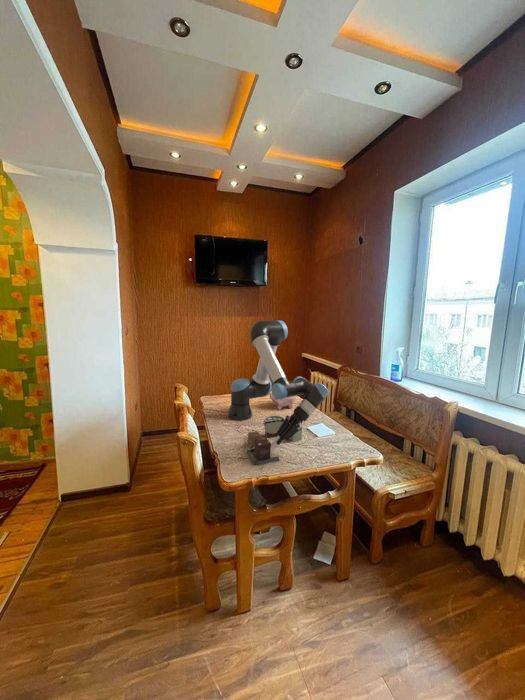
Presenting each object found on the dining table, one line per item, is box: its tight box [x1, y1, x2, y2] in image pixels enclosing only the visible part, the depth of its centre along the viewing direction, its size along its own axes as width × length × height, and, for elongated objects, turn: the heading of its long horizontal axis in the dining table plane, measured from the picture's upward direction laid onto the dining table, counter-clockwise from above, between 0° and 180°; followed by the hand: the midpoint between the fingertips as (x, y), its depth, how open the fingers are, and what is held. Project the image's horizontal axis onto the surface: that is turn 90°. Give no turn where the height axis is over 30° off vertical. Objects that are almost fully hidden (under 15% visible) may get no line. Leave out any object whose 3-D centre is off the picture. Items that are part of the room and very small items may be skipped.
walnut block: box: [247, 430, 262, 449], centre depth 140 cm, size 5×5×6 cm
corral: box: [245, 448, 280, 466], centre depth 129 cm, size 11×12×2 cm
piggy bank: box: [269, 392, 296, 410], centre depth 194 cm, size 15×18×16 cm
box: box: [253, 437, 272, 460], centre depth 129 cm, size 6×6×7 cm
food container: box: [262, 415, 285, 439], centre depth 151 cm, size 12×6×10 cm, turn 111°
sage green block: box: [289, 428, 303, 442], centre depth 147 cm, size 5×5×6 cm
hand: (271, 448), depth 130 cm, fingers closed
